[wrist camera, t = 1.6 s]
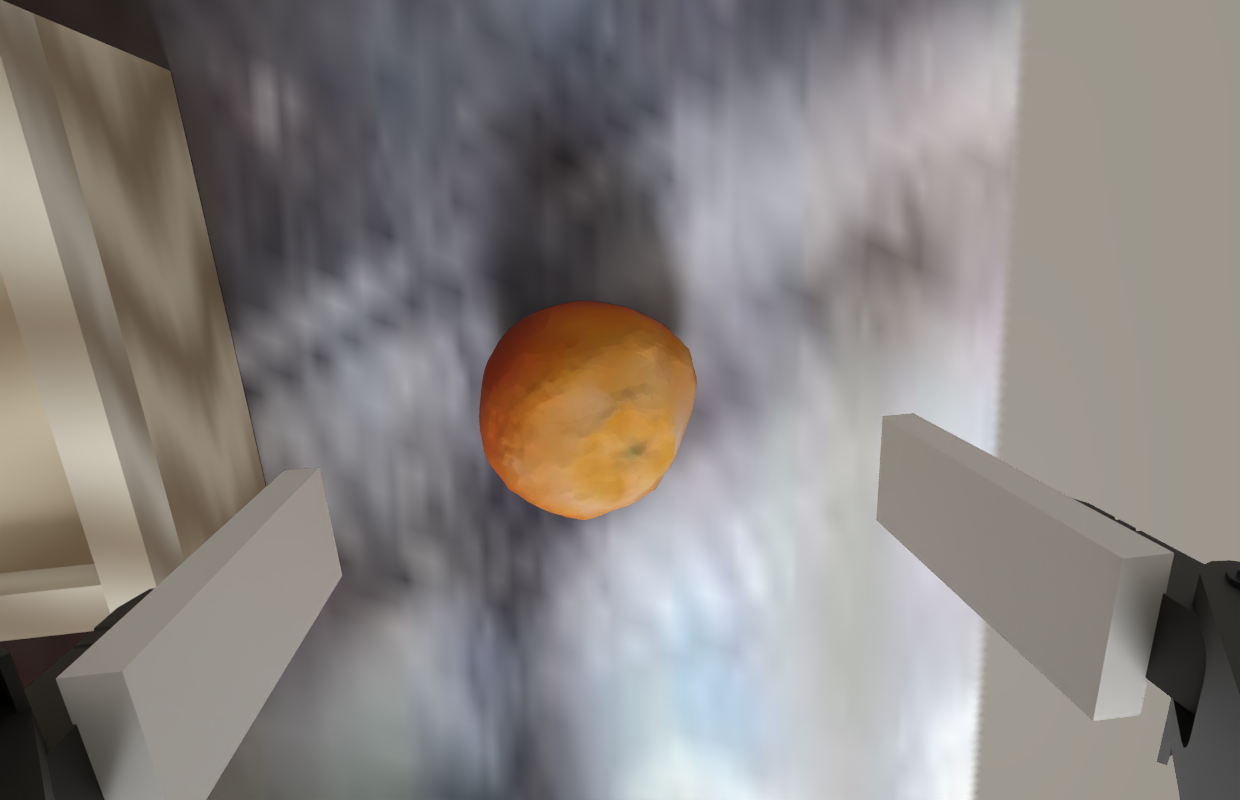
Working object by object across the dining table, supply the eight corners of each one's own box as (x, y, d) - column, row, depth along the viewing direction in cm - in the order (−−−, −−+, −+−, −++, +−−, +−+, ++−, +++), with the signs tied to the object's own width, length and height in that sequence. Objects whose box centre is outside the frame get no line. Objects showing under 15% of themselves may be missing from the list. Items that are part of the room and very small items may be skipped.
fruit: (520, 216, 23) (632, 305, 17) (649, 311, 28) (765, 401, 23) (400, 391, 24) (469, 526, 19) (546, 449, 30) (633, 567, 24)
